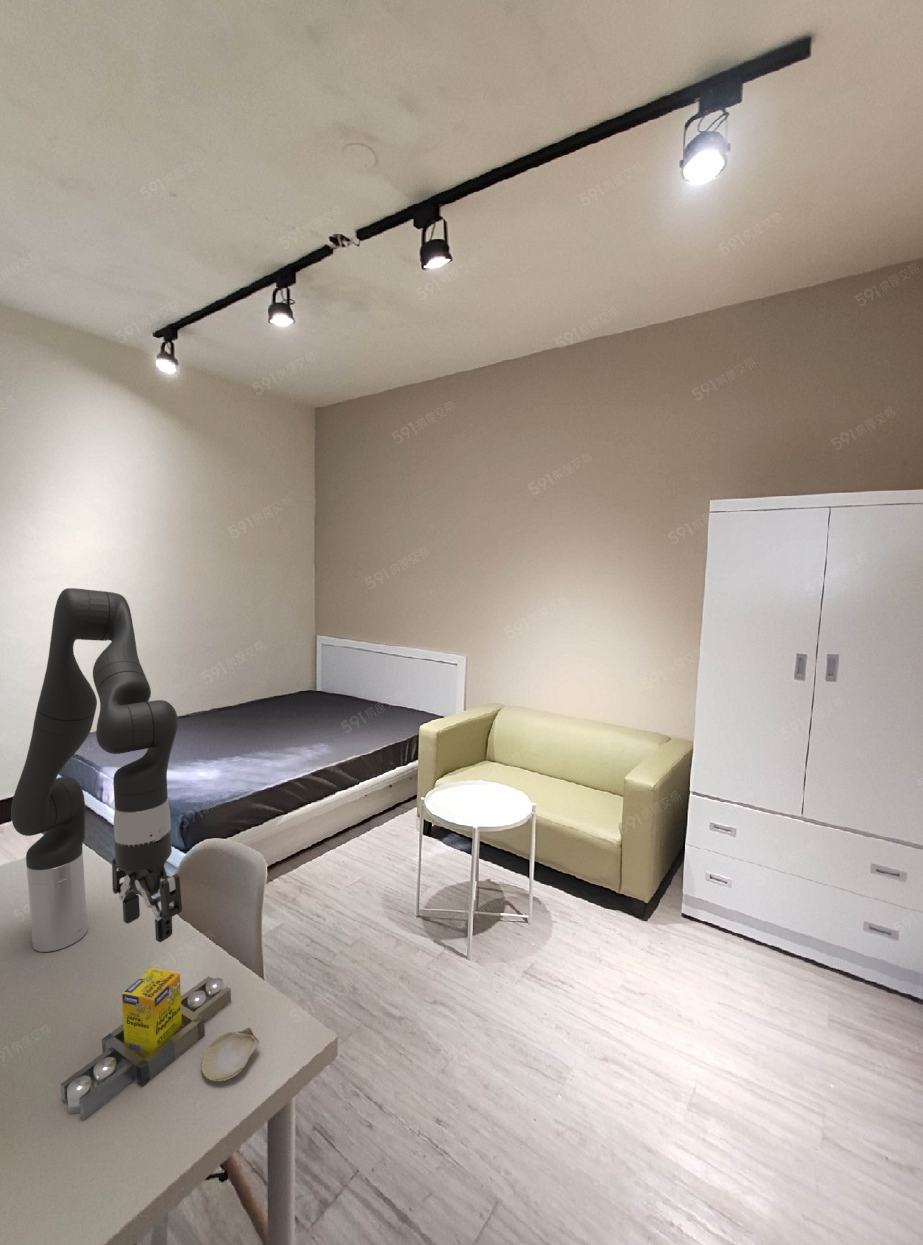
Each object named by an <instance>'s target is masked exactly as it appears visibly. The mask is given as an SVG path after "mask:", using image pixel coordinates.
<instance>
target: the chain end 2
mask: <svg viewBox="0 0 923 1245" xmlns="http://www.w3.org/2000/svg"><path fill="white" fill-rule="evenodd" d="M231 990H232V989H231V988H230V987H229V986H226V987H224V979H223V978H222V977H214V978H212V977H211V976H207V977H206V978H204V979H203V980H202V981H200V982H198V983H197V984H196V985H194V986H193V987H192V988H191V989H189V990H188V991H186V992H185V993H183V994H182V995H181V1013H182V1030H181V1031H179V1032H178V1033H177V1034H175V1035H174V1036H173V1037H172V1038H170V1040H172V1041H173V1042H174V1047H175V1061H176V1060H177V1059H178V1058H179V1057H181V1056H182V1055H183V1054H185V1053H186V1051H188V1050H190V1048H191V1047H193V1046H194V1045H195V1044H197V1043H198V1042H199V1041H200V1040H201V1039H203V1038H204V1037H205V1036H206V1029H205V1024H206V1023H207V1022H208V1021H209V1020H211V1019H212V1018H213V1017H215V1015H217V1014H218V1013H220V1011H222V1010H223V1009H224V1008H225V1007H226V1006H228V1005H229V1004H230V1003H232V992H231Z"/></svg>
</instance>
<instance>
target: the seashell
mask: <svg viewBox="0 0 923 1245" xmlns="http://www.w3.org/2000/svg"><path fill="white" fill-rule="evenodd" d="M259 1044H260V1041H259V1039H258V1038H257V1036H255V1035H254V1033H253V1030H252V1028H251V1027H247V1028H245V1029H242V1031H233V1032H227V1033H225V1034H222V1035H219V1036H218V1037H217V1038H215V1040H214V1041H212V1043H210V1045H209V1046H208V1047H207V1049H206V1051H205V1052H204V1054H203V1056H202V1060H201V1063H200V1066H201V1067H200V1069H201V1073H202V1075H203V1077H204V1078H205V1079H206V1081H207V1080H208V1081H210V1082H213V1083H217V1082H218V1083H221V1082H226V1081H227V1080H231V1079H232V1078H234V1077H236V1076H237V1075H238V1074H240V1073H241V1071H242V1070H244V1068H245V1066H246V1065H247V1064H248V1062H249V1059H250V1057H251V1056H252V1055H253V1053H254V1052H255V1050H256V1049H257V1047H258V1046H259Z"/></svg>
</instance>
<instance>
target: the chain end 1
mask: <svg viewBox="0 0 923 1245" xmlns="http://www.w3.org/2000/svg"><path fill="white" fill-rule="evenodd" d="M101 1045H102V1046H101V1048H102V1053H101V1054H99V1055H98V1056H97V1057H96V1058H94V1059H93V1060H92V1061H90V1062H89V1063H87V1064H86V1065H85V1066H83V1067H82V1068H81V1069H79V1070H77V1072H75V1073H73V1074H72V1075H70V1076H69V1077H68V1078H67V1079H65V1080H63V1082H61V1083H60V1094H61V1101H62V1102H64V1103H65V1104H66V1103H67V1106H68V1107H67V1108H68V1112H69V1113H70V1114H79V1115H80V1116H79V1117H80V1118H81V1119H82V1120H83V1121H86V1119H88V1118H89V1117H90V1116H91V1115H92V1114H94V1113H95V1112H97V1110H99V1109H100V1108H101V1107H103V1106H104V1105H105V1104H106V1103H108V1102H109V1101H110V1100H111V1099H112V1098H114V1097H115V1096H116V1095H117V1094H119V1093H120V1092H121V1091H122V1090H123V1089H125V1088H126V1087H127V1086H128V1085H130V1084H131V1083H132V1082H135V1084H137V1085H138V1086H140V1087H141V1088H143V1087H144V1086H146V1085H147V1084H148V1083H149V1082H151V1081H152V1080H153V1079H154V1078H155V1077H157V1075H159V1074H160V1073H162V1072H163V1070H165V1069H166V1068H167V1067H169V1066H170V1065H171V1064H172V1063H174V1061H176V1060H175V1047H174V1042H173V1041H172V1040H170V1039H169V1040H168V1041H167V1042H165V1043H164V1044H163V1045H161V1046H160V1047H159V1048H158V1049H156V1050H155V1051H154V1052H152V1053H151V1054H150V1055H149V1056H147V1057H146V1058H145V1059H144V1058H142V1057H141V1056H140V1055H138V1054H137V1053H136V1052H134V1051H133V1050H131V1049H130V1048H129V1047H127V1046H126V1045H125V1044H124V1023H122V1024H121V1025H120V1026H118V1027H117V1028H116V1029H114V1030H113V1031H111V1032H109V1033H108V1034H107V1035H106V1036H104V1037H103V1038H101ZM92 1083H94V1085H93V1086H94V1089H92Z"/></svg>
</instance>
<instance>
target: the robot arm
mask: <svg viewBox="0 0 923 1245" xmlns="http://www.w3.org/2000/svg"><path fill="white" fill-rule="evenodd" d="M53 611H54V612H53V618H52V627H51V634H50V635H51V636H50V643H49V651H48V657H47V664H46V669H45V674H44V677H43V678H44V679H43V683H42V687H41V690H40V694H39V698H38V702H37V707H36V711H35V716H34V719H33V720H34V721H33V726H32V733H31V736H30V737H31V738H30V742H29V747H28V750H27V755H26V759H25V762H24V765H23V768H22V771H21V774H20V777H19V780H18V783H17V785H16V789H15V791H14V794H13V797H12V802H11V807H10V818H11V824H12V826H13V827H14V829H15V831H16V832H17V833H18V834H20V835H21V836H25V837H31V836H35V835H39V834H43V833H44V834H43V835H42V836H41V837H40V838H39V839H38V840H37V841H35V842H34V843H33V844H32V845H31V846H30V847H29V848H28V850H26V855H25V862H26V875H27V885H28V886H27V888H28V898H29V911H30V912H29V913H30V925H31V928H30V929H31V940H32V948H33V950H35V951H37V952H40V953H41V952H42V953H45V952H46V953H47V952H48V953H49V952H55V951H58V950H61V949H64V948H67V947H69V946H71V945H74V944H75V943H77V942H78V941H80V940H81V939H82V938H83V937H84V936H85V935H86V933H87V932H88V929H89V928H88V914H87V913H88V910H87V897H86V896H87V895H86V882H85V881H86V880H85V868H84V867H85V866H84V854H83V853H84V852H83V844H84V842H85V838H86V803H85V802H86V801H85V795H84V790H83V788H82V786H81V784H80V783H79V782H78V780H77V779H75V778H74V777H71V776H66V775H65V776H60V777H58V776H59V774H60V773H61V771H62V769H63V768H64V767H65V766H66V764H67V763H68V762H69V761H70V760H71V759H72V758H73V756H74V755H75V754H76V753H77V752H78V750H79V749H80V748H81V747H82V745H83V744H84V743H85V741H86V740H87V738H88V737H89V735H90V733H91V731H92V728H93V723H94V718H95V715H96V711H97V706H98V700H97V695H98V699H99V704H100V706H99V715H98V718H97V723H96V729H95V730H96V732H95V735H96V742H97V743H98V745H99V747H100V748H101V749H102V750H104V751H105V752H106V753H109V754H113V755H120V754H121V755H122V754H126V753H130V752H135V751H141V750H146V749H147V750H146V752H145V753H144V755H142V756H141V757H140V758H138V759H137V760H134V761H131V762H130V763H127V764H124V765H123V766H121V767H119V768H118V769H117V770H116V771H115V772H114V775H113V782H112V783H113V784H112V785H113V797H114V798H113V801H114V802H113V803H114V815H113V837H114V838H113V840H114V841H113V842H114V855H115V856H114V858H112V860H111V871H112V872H111V874H112V876H111V877H112V881H111V882H112V892H113V894H115V895H117V894H119V895H118V898H119V900H120V901H121V902H122V915H123V916H122V917H123V922H124V923H125V924H130V923H132V922H134V921H136V920H138V919H139V918H140V916H141V913H140V910H141V909H140V908H141V907H140V897H141V898H142V899H143V901H144V903H145V906H146V907H147V908H149V909H151V911H152V913H153V916H154V918H155V919H154V927H155V928H154V929H155V932H154V933H155V941H157V942H159V943H163V942H164V941H165V940H168V939H169V938H171V936H172V935H173V918H174V916H177V915H178V914H180V913H182V912H183V911H182V910H183V906H182V905H183V903H182V891H181V890H182V889H181V880H180V876H179V874H178V873H177V874H174V875H172V876H170V875H167V872H166V871H167V870H166V868H165V864H166V862H167V860H168V859H169V858H170V856H171V855H172V850H173V849H172V827H171V811H170V805H169V799H168V798H169V797H168V777H167V776H168V768H169V761H170V756H171V753H172V748H173V745H174V742H175V738H176V735H177V730H178V726H179V725H178V723H179V722H178V721H179V720H178V713H177V711H176V709H175V707H174V706H173V705H172V704H171V703H170V702H168V701H166V700H163V699H157V700H150V699H151V694H152V692H151V686H150V682H149V681H148V679H147V675H146V674H145V672H144V669H143V667H142V664H141V662H140V659H139V656H138V649H137V642H136V636H135V629H134V625H133V624H134V622H133V618H132V612H131V609H130V606H129V602H128V601H127V599H126V598H125V597H124V595H122V594H120V593H116V592H112V591H106V590H105V591H103V590H94V589H84V588H76V587H67V588H65V589H63V590H62V591H61V592H60V593H59V595H58V597H57V600H56V603H55V607H54V610H53ZM76 640H80V641H81V640H82V641H101V642H104V641H105V642H106V641H110V643H109V644H108V646H107V647H106V648H105V649H104V650H103V651H102V652H101V653H100V654H99V655H98V656H97V658H96V660H95V663H94V664H93V667H92V668H93V669H92V679H93V683H94V686H95V689H96V692H97V695H96V693H95V691H94V689H93V688H92V685H91V683H89V680H87V678H86V676H85V675H84V673H83V671H82V670H81V668H80V666H79V663H78V661H77V659H76V657H75V654H74V644H75V642H76ZM121 879H124V881H123V882H120V881H121ZM156 894H160V895H158V896H157V897H155V898H154V896H156ZM159 903H160V906H159ZM160 907H161V908H160Z"/></svg>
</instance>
